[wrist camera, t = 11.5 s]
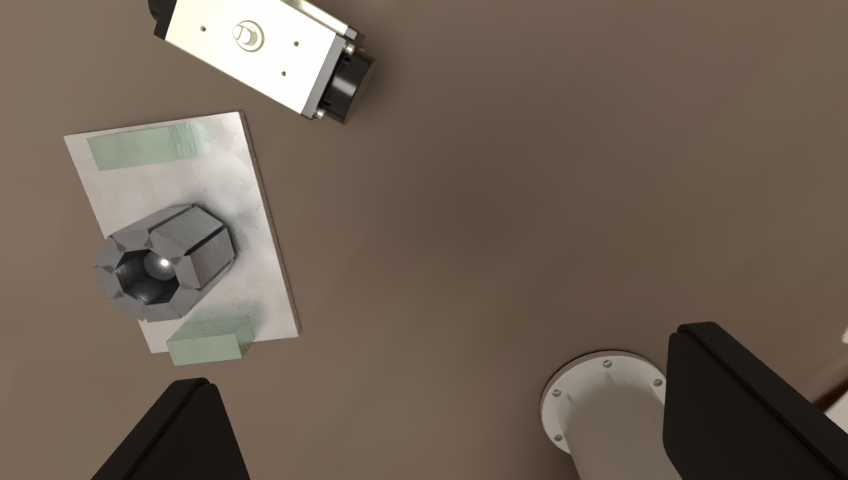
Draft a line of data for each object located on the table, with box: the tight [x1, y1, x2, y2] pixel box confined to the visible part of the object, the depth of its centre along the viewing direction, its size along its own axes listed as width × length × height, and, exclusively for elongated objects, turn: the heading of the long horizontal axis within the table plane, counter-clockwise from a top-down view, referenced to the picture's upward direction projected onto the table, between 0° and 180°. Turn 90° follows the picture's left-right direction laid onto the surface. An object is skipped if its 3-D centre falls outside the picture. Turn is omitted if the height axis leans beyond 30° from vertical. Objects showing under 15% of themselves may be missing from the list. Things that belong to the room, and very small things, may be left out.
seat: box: [63, 111, 301, 366], centre depth 35 cm, size 20×14×6 cm
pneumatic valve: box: [148, 0, 377, 125], centre depth 27 cm, size 6×12×12 cm, turn 61°
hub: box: [93, 205, 235, 323], centre depth 34 cm, size 7×7×6 cm
